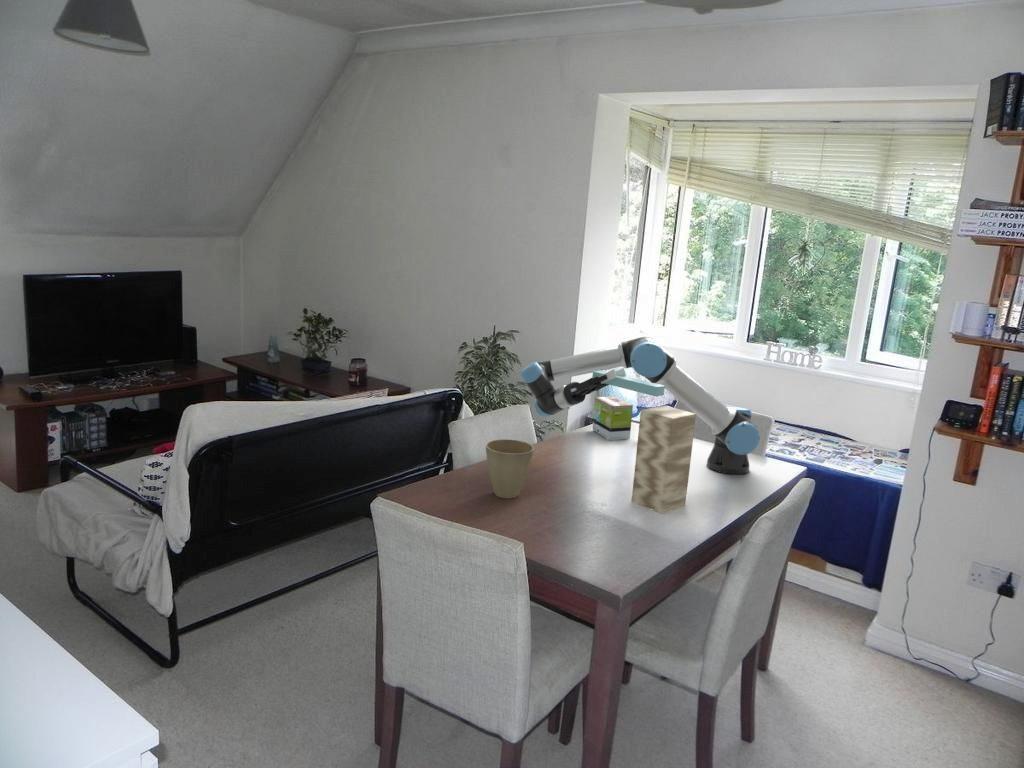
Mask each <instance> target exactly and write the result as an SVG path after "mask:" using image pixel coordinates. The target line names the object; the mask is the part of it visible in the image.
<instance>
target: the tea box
mask: <svg viewBox="0 0 1024 768" xmlns="http://www.w3.org/2000/svg"><path fill="white" fill-rule="evenodd" d="M593 407H594V408H593V418H592V419H593V420H592V431H594V432H595V433H597V434H599V435H600V436H602V437H603V438H606V439H607V440H608V441H614V440H615V441H616V440H617V441H618V440H620V441H621V440H629V439H631V430H632V429H631V428H632V419H633V408H634V405H633V404H631V403H629V402H628V401H625V400H623V399H621V398H619V397H617V396H616V395H615V396H612V395H611V396H597V397H594V406H593Z"/></svg>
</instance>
